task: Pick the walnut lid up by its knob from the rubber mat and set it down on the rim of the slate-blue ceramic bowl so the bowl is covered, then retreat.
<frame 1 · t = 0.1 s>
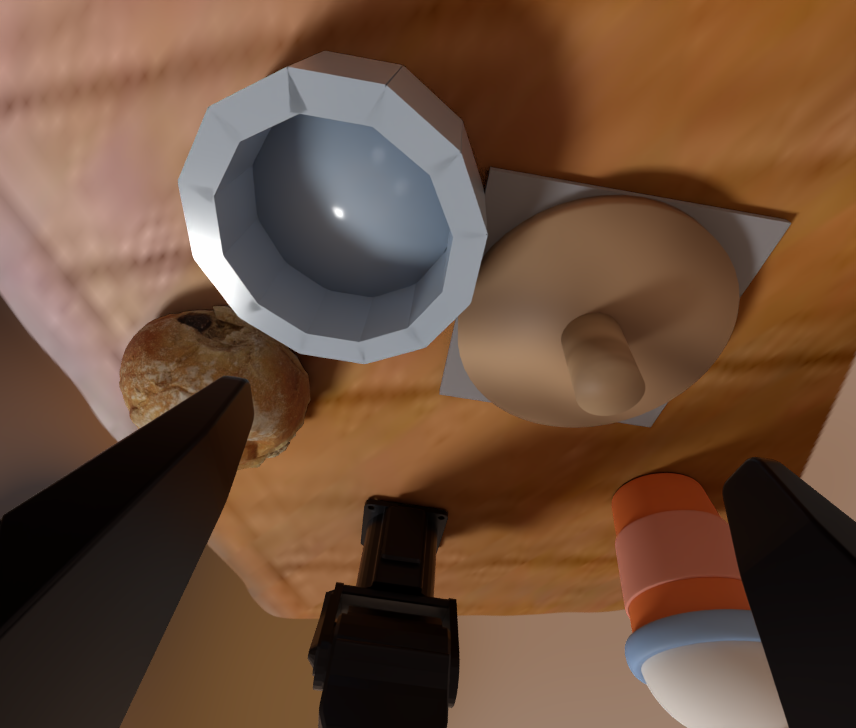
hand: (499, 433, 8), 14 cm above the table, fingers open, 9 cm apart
lid: (585, 322, 23), resting on mat
mat: (584, 318, 23), on the table
cup with straw: (654, 495, 33), on the table
bowl: (357, 202, 20), on the table
bread roll: (237, 371, 28), on the table
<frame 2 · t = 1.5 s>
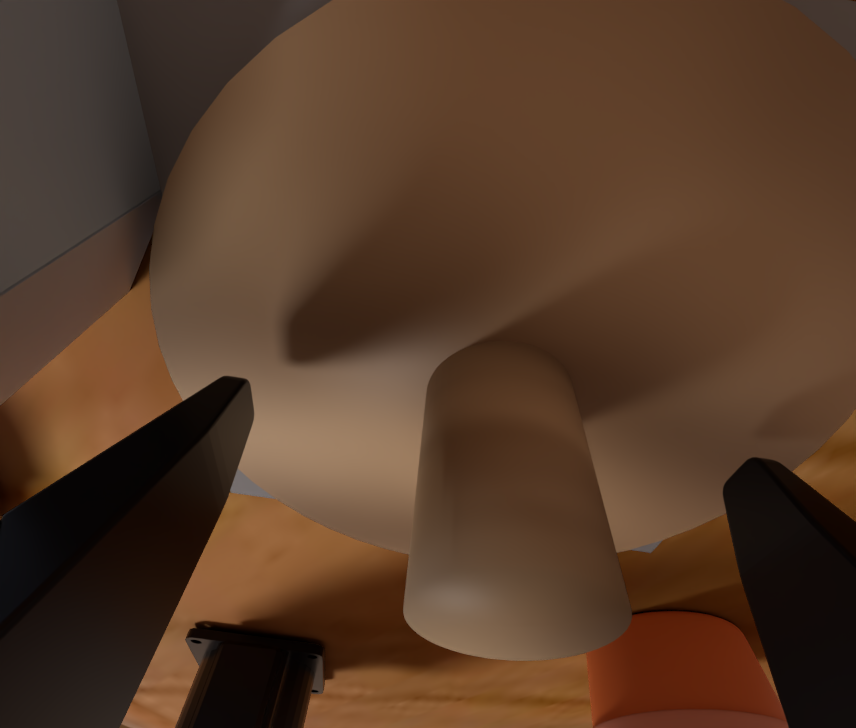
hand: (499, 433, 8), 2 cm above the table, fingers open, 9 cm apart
lid: (495, 360, 10), resting on mat
mat: (494, 349, 10), on the table
cup with straw: (659, 634, 19), on the table
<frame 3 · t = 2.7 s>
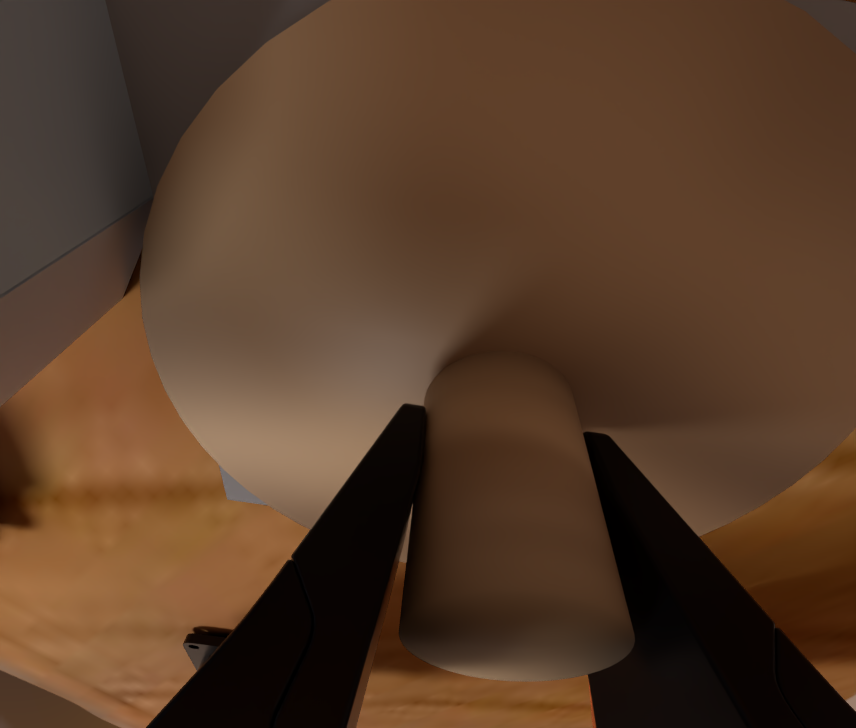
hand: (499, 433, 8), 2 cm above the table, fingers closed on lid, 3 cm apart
lid: (494, 368, 10), resting on mat, touching gripper
mat: (494, 356, 10), on the table
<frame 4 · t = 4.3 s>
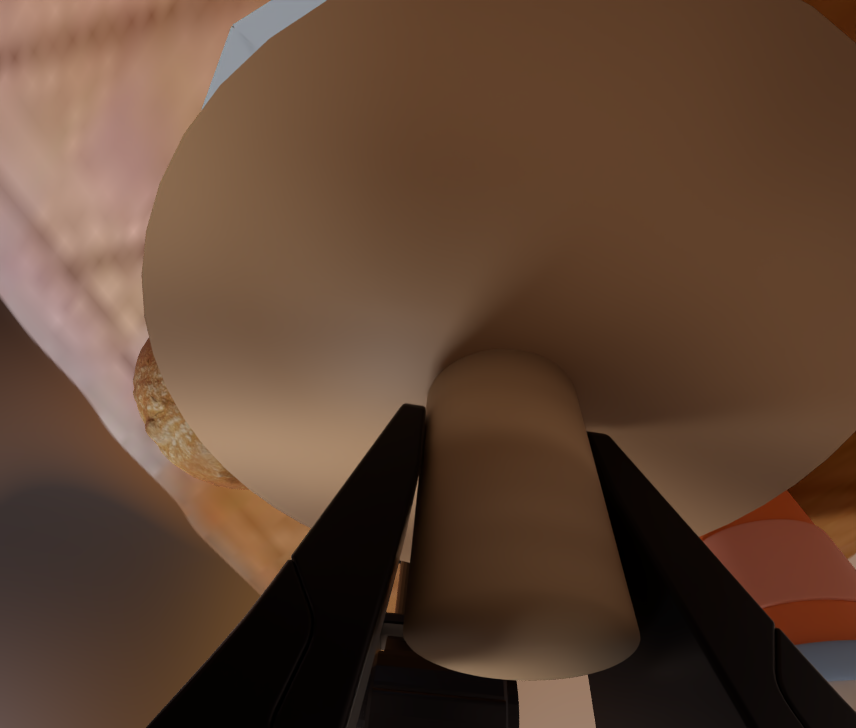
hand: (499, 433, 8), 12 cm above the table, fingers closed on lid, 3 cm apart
lid: (497, 367, 9), point 11 cm above the table, touching gripper
cup with straw: (730, 502, 29), on the table
bowl: (402, 165, 17), on the table
bread roll: (263, 376, 25), on the table
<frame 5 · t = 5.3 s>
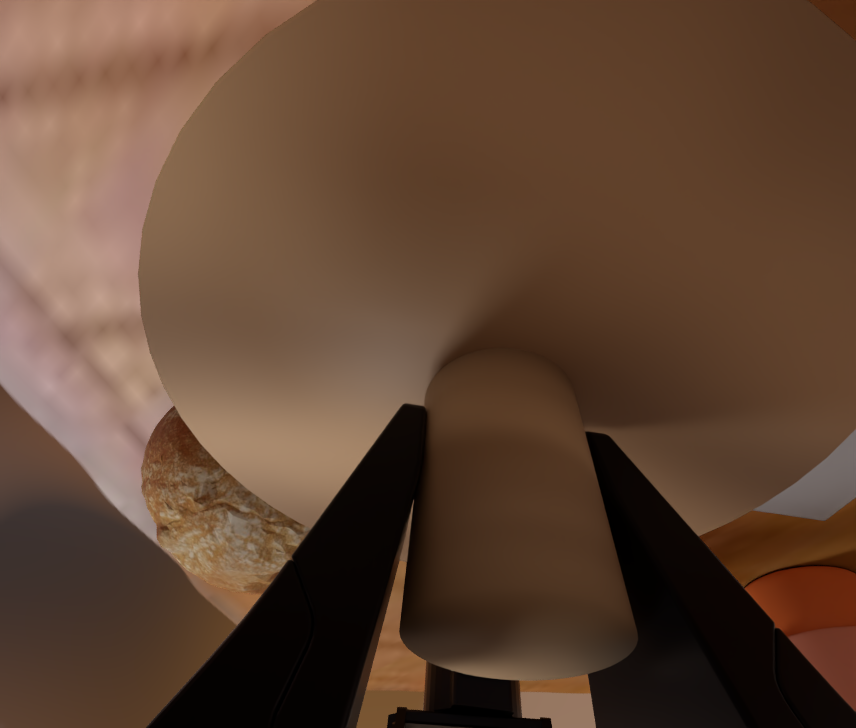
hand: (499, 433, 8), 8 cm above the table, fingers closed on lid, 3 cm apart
lid: (495, 366, 9), point 6 cm above the table, touching gripper
mat: (775, 394, 17), on the table
cup with straw: (795, 586, 26), on the table
bread roll: (288, 451, 22), on the table
when the fingers open (7 cm above the table, at t = 6.0 s): lid stays where it is, resting on bowl.
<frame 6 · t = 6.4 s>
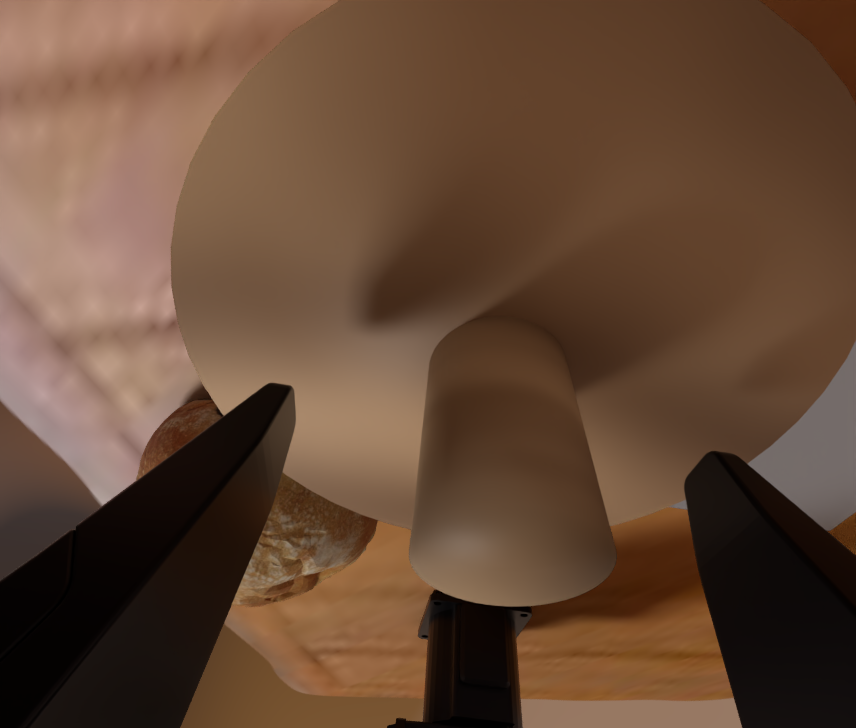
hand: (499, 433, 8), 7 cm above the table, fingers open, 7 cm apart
lid: (494, 338, 10), point 4 cm above the table, touching bowl
mat: (780, 404, 17), on the table
bread roll: (286, 460, 22), on the table
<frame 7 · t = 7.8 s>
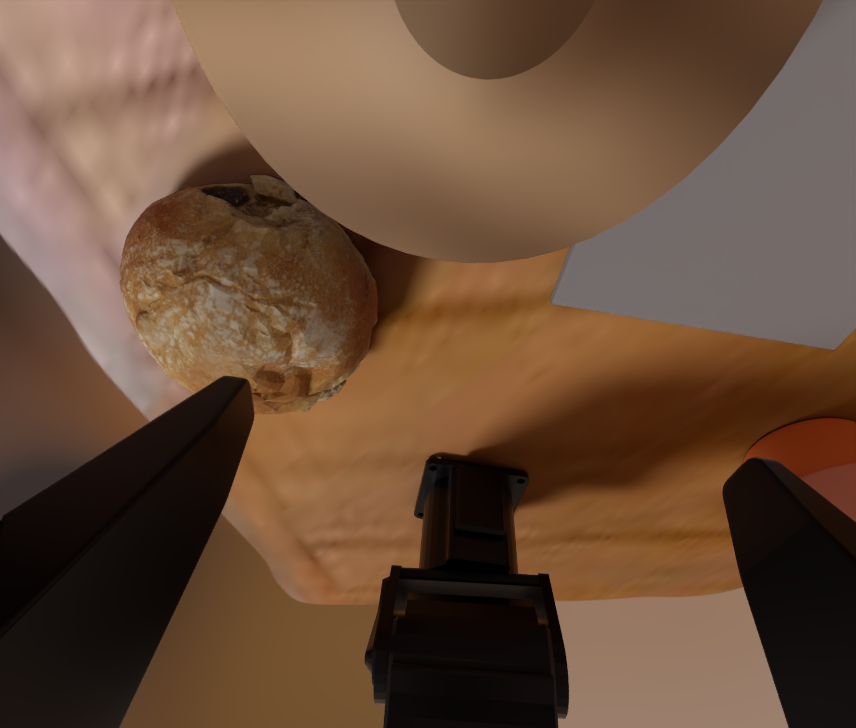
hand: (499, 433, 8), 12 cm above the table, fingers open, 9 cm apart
mat: (788, 175, 16), on the table
cup with straw: (800, 449, 26), on the table
bread roll: (277, 285, 21), on the table
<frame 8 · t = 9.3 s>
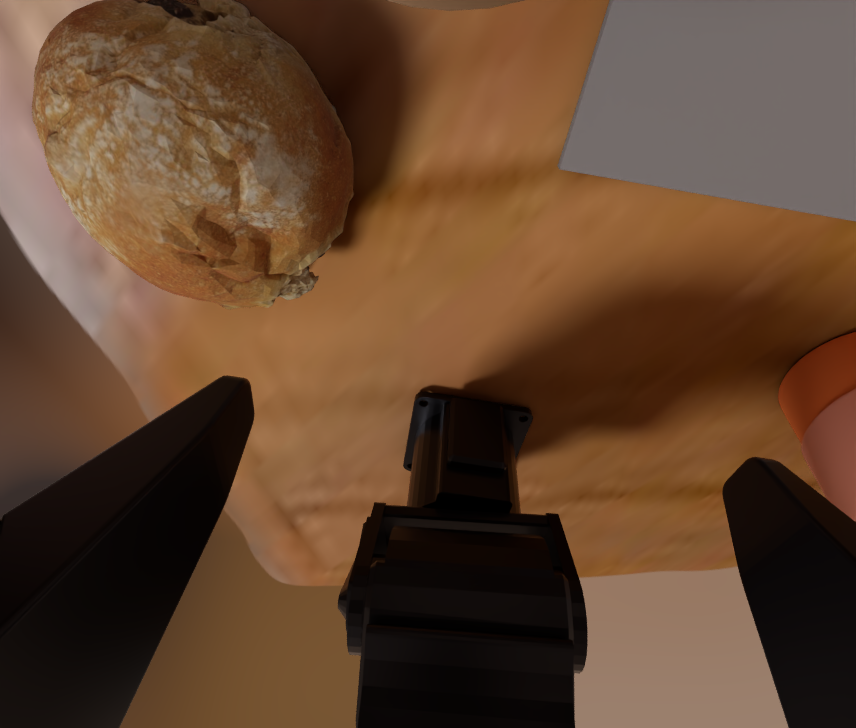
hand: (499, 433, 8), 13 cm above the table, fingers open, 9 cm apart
cup with straw: (845, 374, 22), on the table
bread roll: (237, 160, 18), on the table
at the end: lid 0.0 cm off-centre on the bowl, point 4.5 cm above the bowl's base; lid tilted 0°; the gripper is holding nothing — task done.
